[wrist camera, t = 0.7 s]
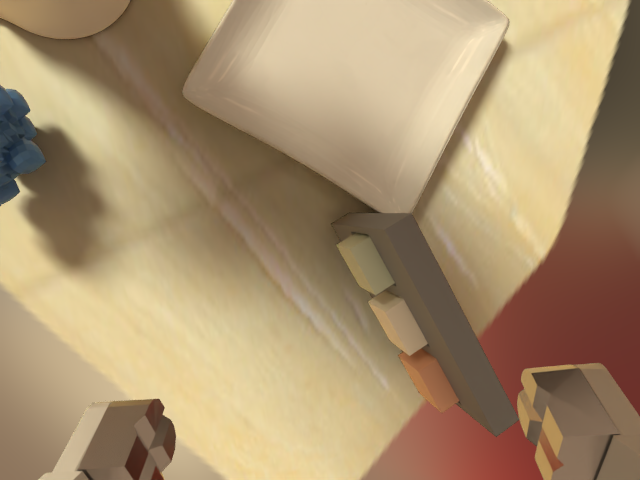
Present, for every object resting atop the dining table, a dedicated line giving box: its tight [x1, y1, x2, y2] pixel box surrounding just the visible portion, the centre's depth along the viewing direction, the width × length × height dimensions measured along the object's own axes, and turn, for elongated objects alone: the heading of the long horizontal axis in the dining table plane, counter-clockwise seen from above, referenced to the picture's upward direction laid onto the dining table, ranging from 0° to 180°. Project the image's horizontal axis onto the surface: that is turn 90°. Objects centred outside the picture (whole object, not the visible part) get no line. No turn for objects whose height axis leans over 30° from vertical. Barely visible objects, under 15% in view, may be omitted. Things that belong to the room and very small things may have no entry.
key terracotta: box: [398, 348, 459, 413], centre depth 43 cm, size 5×4×5 cm
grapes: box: [0, 85, 46, 206], centre depth 37 cm, size 12×7×12 cm, turn 169°
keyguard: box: [331, 213, 519, 437], centre depth 43 cm, size 20×7×17 cm, turn 30°
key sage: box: [336, 233, 395, 295], centre depth 41 cm, size 5×4×5 cm
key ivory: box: [368, 290, 428, 356], centre depth 42 cm, size 5×4×5 cm
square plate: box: [182, 0, 509, 213], centre depth 47 cm, size 27×27×4 cm
